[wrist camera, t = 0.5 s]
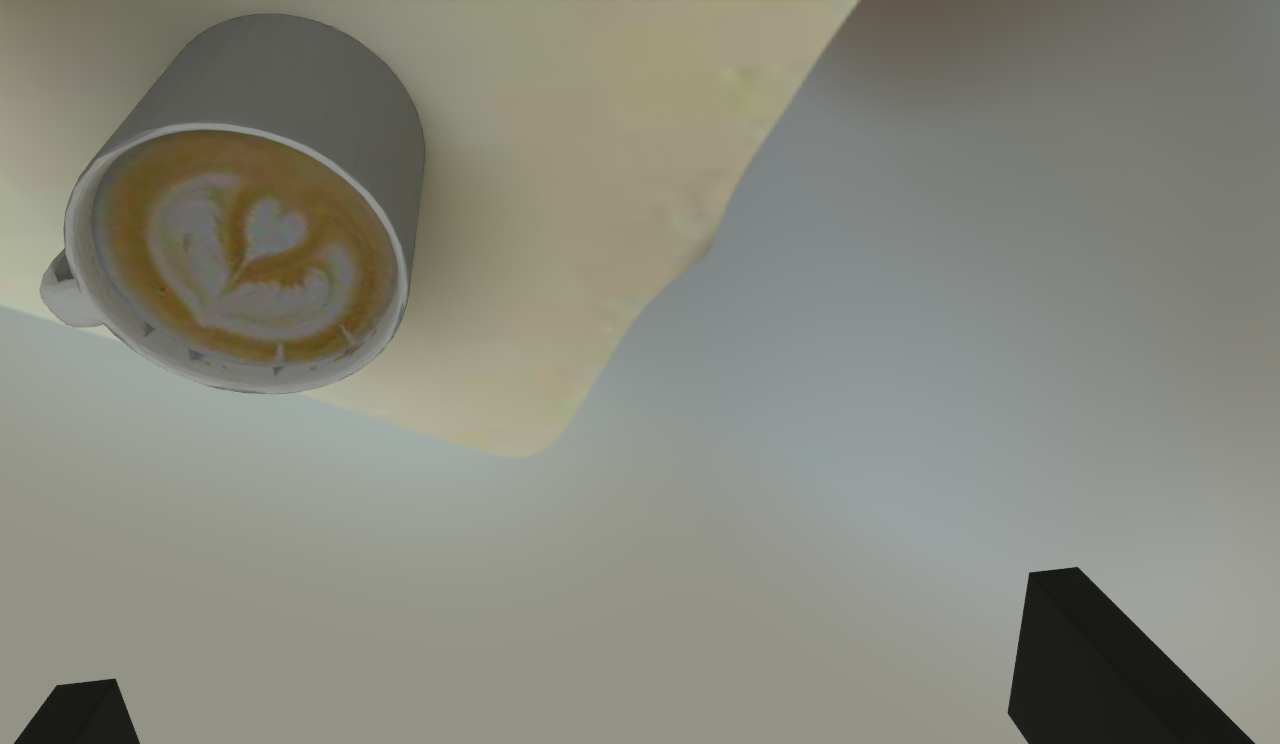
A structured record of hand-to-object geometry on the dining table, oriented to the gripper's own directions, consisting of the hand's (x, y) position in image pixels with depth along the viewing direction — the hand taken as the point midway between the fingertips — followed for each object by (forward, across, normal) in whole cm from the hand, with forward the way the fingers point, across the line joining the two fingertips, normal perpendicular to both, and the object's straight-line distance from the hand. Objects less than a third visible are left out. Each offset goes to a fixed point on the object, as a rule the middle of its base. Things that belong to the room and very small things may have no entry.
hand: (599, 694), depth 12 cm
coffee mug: (+27, -12, +5) cm, 30 cm away
